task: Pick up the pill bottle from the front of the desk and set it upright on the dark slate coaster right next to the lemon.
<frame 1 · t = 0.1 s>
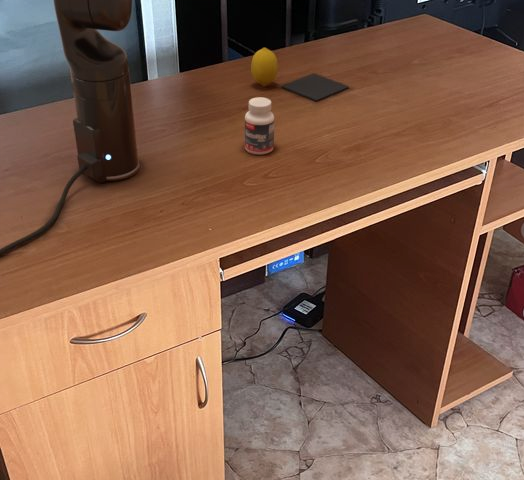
coaster: (314, 88, 164), on the table
pill bottle: (259, 149, 143), on the table
lemon: (264, 87, 165), on the table
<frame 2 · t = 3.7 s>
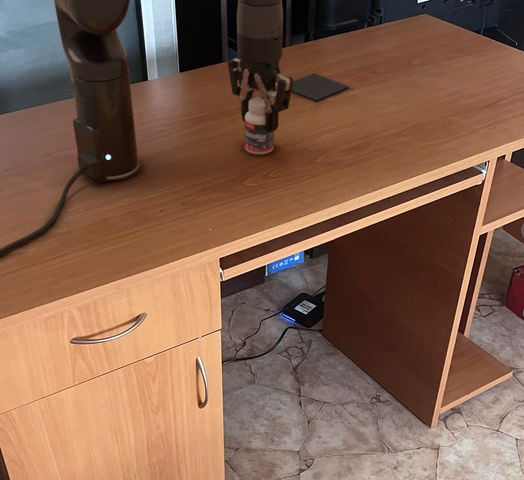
hand: (259, 125, 140), 4 cm above the table, tool pointing down, fingers closed on pill bottle, 5 cm apart
pill bottle: (259, 149, 143), on the table, touching gripper
everything else where it was.
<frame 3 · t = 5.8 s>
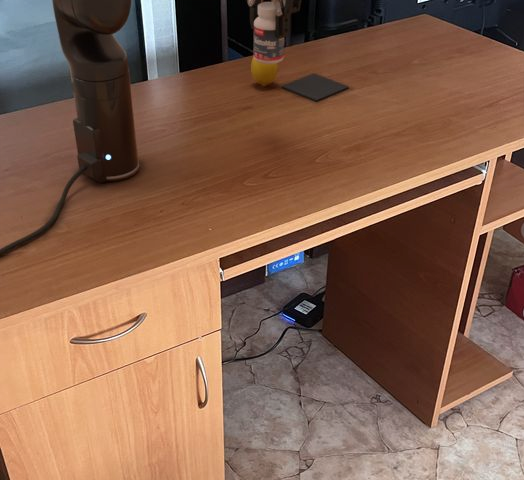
hand: (269, 32, 133), 20 cm above the table, tool pointing down, fingers closed on pill bottle, 5 cm apart
pill bottle: (268, 60, 136), point 15 cm above the table, touching gripper
everything else where it was.
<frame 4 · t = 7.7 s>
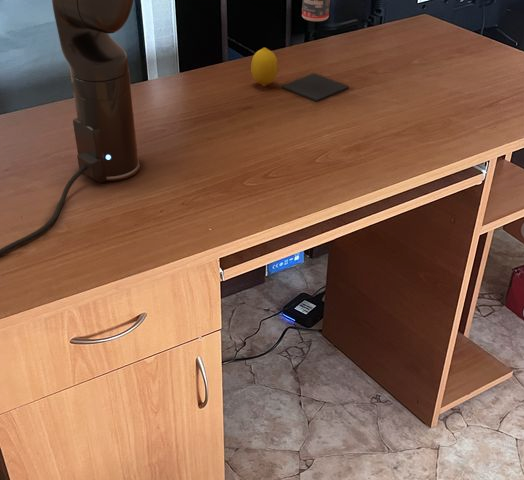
pill bottle: (315, 18, 154), point 15 cm above the table, touching gripper
everything else where it was.
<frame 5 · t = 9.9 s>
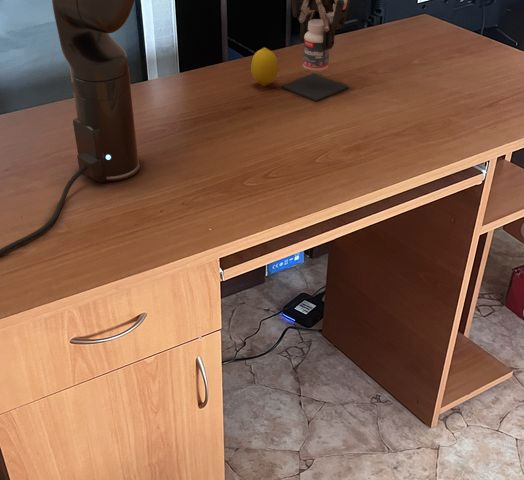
hand: (316, 44, 159), 9 cm above the table, tool pointing down, fingers closed on pill bottle, 5 cm apart
pill bottle: (315, 67, 162), point 4 cm above the table, touching gripper
everything else where it was.
when the fingers open (5 cm above the table, at t = 11.5 s): pill bottle stays where it is, resting on coaster.
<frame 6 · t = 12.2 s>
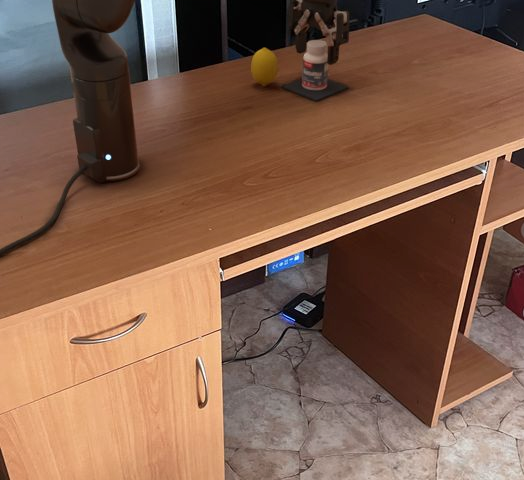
hand: (316, 57, 160), 6 cm above the table, tool pointing down, fingers open, 8 cm apart
pill bottle: (314, 87, 164), resting on coaster
everything else where it was.
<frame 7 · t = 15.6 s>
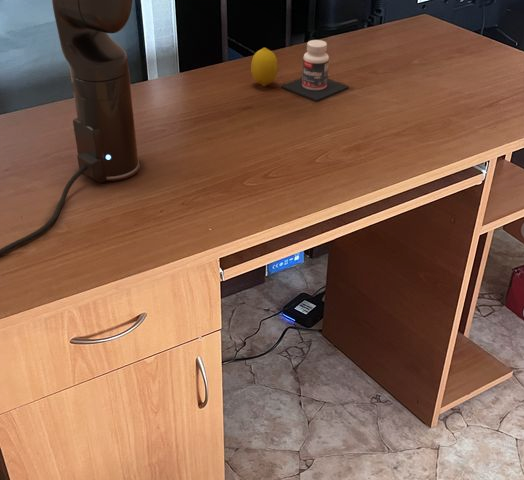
nothing on the table moved.
at the end: pill bottle 10.5 cm from the lemon (horizontally); pill bottle inside the target area on the coaster (0.1 cm from its centre), point 0.2 cm above the coaster's base; pill bottle tilted 0° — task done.
